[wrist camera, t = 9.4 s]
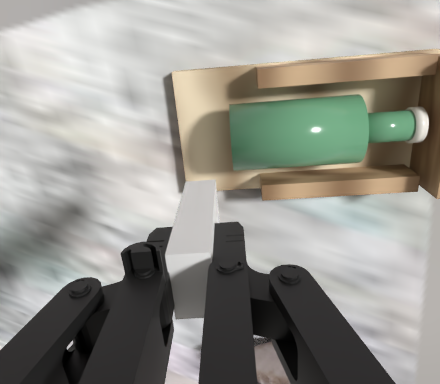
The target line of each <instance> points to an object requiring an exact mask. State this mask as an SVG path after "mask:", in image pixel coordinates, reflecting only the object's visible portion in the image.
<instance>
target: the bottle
mask: <svg viewBox="0 0 440 384" xmlns="http://www.w3.org/2000/svg"><path fill="white" fill-rule="evenodd" d="M229 118H230V136H231V150H232V162H233V170H234V171H244V170H260V169H275V168H290V167H306V166H321V165H337V164H352V163H360V162H361V161H362V160H363V159H364V157H365V154H366V151H367V146H368V144H369V143H384V142H398V141H405V142H407V143H420V142H422V141H424V139H425V138H426V136H427V133H428V128H429V119H428V114H427V112H426V110H425V108H423V107H421V106H419V107H408V108H407V109H406V110H401V111H387V112H374V113H368V112H367V107H366V104H365V101H364V99H363V97H362V96H361V95H359V94H353V95H340V96H328V97H315V98H302V99H290V100H277V101H264V102H252V103H239V104H229Z"/></svg>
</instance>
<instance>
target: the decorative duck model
mask: <svg viewBox="0 0 440 384" xmlns="http://www.w3.org/2000/svg"><path fill="white" fill-rule="evenodd" d="M254 349H255V361H256V372H257V383H258V384H290V381H289V379H288V377H287V375H286V373H285V371H284V368H283V366H282V364H281V362H280V360H279V358H278V356H277V353H276V351H275V349H274V347H273V345H272V342H268V343H264V344H260V345H257V346H254Z"/></svg>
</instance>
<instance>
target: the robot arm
mask: <svg viewBox="0 0 440 384" xmlns="http://www.w3.org/2000/svg"><path fill="white" fill-rule="evenodd" d="M121 257H122V261H123V266H124V270H125V276H124V278H123V280H122V281H120V282H117V283H114V284H110V285H107V286H103V287H102V286H101V282H100V281H99V280H98V279H95V278H92V277H91V278H81V279H77V280H75V281H73V282H71V283H69V284H67V285H66V286H65V287H64V288H62V289H61V290H60V291H59V292H58V293H57V294H56V295H55V296H54V297H53V298H52V299H51V300H50V301H49V302H48V303H47V304H46V305H45V306H44V307H43V308H42V309H41V310H40V311H39V312H38V313H37V314H36V315H35V316H34V317H33V318H32V319H31V320H30V321H29V322H28V323H27V324H26V325H25V326H24V327H23V328H22V329H21V330H20V331H19V332H18V333H17V334H16V335H15V336H14V337H13V338H12V339H11V340H10V341H9V342H8V343H7V344H6V345H5V346H4V347H3V348H2V349H1V350H0V384H164V383H165V378H166V372H167V366H168V361H169V355H170V349H171V344H172V338H173V332H174V326H173V320H172V316H173V311H174V312H175V317H176V319H188V318H204V325H203V337H202V349H201V361H200V373H199V384H258V383H257V372H256V361H255V349H254V338H253V335H258V336H262V337H266V338H271V341H272V345H273V347H274V349H275V351H276V353H277V356H278V358H279V360H280V362H281V364H282V366H283V368H284V371H285V373H286V375H287V377H288V379H289V381H290V384H395V382H394V381H393V380H392V378H391V377H390V376H389V375H388V373H387V372H386V371H385V369H384V368H383V367H382V366H381V364H380V363H379V362H378V360H377V359H376V358H375V357H374V355H373V354H372V353H371V351H370V350H369V349H368V348H367V346H366V345H365V344H364V342H363V341H362V340H361V339H360V337H359V336H358V335H357V333H356V332H355V331H354V330H353V328H352V327H351V326H350V324H349V323H348V322H347V321H346V319H345V318H344V317H343V315H342V314H341V313H340V312H339V310H338V309H337V308H336V306H335V305H334V304H333V303H332V301H331V300H330V299H329V297H328V296H327V295H326V294H325V292H324V291H323V290H322V288H321V287H320V286H319V285H318V283H317V282H316V281H315V279H314V278H313V277H312V276H311V274H310V273H309V272H308V271H307V270H306V269H304V268H302V267H300V266H297V265H290V264H289V265H281V266H278V267H275V268H274V269H273V270H272V271H271V272H270V274H263V273H259V272H257V271H254V270H253V269H251V268H250V267H249V266H248V265H247V262H246V252H245V241H244V230H243V227H242V226H241V225H240V223H239V222H227V223H220V220H219V210H218V199H217V189H216V179H214V180H200V181H186V183H185V186H184V190H183V193H182V197H181V200H180V204H179V207H178V211H177V214H176V218H175V221H174V225H173V227H164V228H156V229H155V230H154V231H153V232H151V233H150V234H149V236H148V239H147V242H140V243H135V244H133V245H130V246H128V247H127V248H125V249H124V250H123V251H122V252H121ZM72 340H73V345H72V346H71V347H70V348H69V349H68V350H67V349H66V348H67V346H68V345H69V344H70V342H71V341H72Z"/></svg>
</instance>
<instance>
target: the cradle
mask: <svg viewBox="0 0 440 384" xmlns="http://www.w3.org/2000/svg"><path fill="white" fill-rule="evenodd" d="M172 79H173V87H174V95H175V102H176V110H177V117H178V125H179V133H180V140H181V148H182V156H183V163H184V171H185V179H186V181H200V180H214V179H216V189H217V191H220V190H237V189H253V188H261V194H262V200H279V199H296V198H314V197H331V196H349V195H366V194H384V193H401V192H418V187H419V185H420V186H421V187H422V188H424V189H425V190H426V191H427V192H429V193H430V194H431V195H432V196H434V197H435V198H436V199H440V49H429V50H417V51H405V52H393V53H382V54H370V55H358V56H346V57H335V58H323V59H311V60H299V61H288V62H276V63H264V64H252V65H241V66H229V67H217V68H205V69H194V70H182V71H173V72H172ZM353 94H359V95H361V96H362V97H363V99H364V101H365V104H366V107H367V112H368V113H374V112H387V111H401V110H406V109H407V108H408V107H419V106H421V107H423V108H425V110H426V112H427V114H428V119H429V128H428V133H427V136H426V138H425V139H424V141H422V142H420V143H407V142H405V141H398V142H384V143H369V144H368V146H367V151H366V154H365V157H364V159H363V160H362V161H361V162H360V163H352V164H337V165H321V166H306V167H290V168H275V169H260V170H244V171H234V170H233V162H232V150H231V136H230V118H229V104H239V103H252V102H264V101H277V100H290V99H302V98H315V97H328V96H340V95H353Z"/></svg>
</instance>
